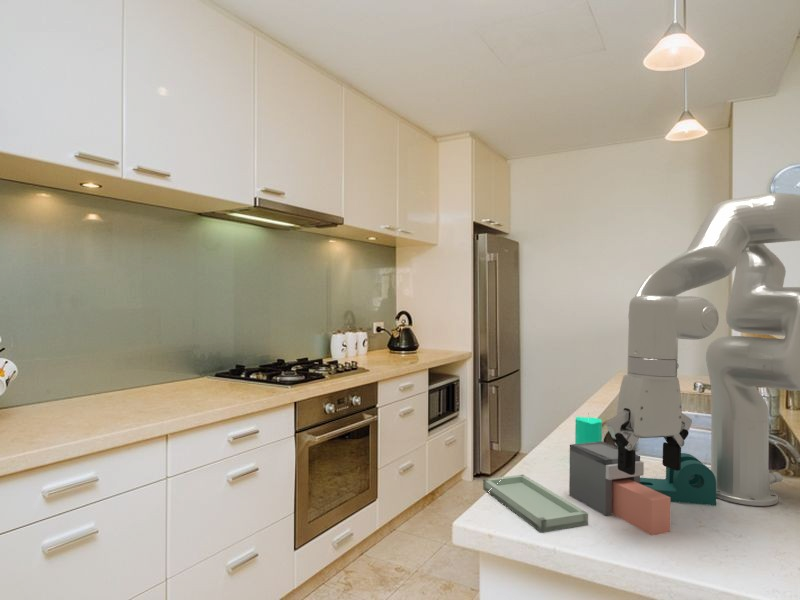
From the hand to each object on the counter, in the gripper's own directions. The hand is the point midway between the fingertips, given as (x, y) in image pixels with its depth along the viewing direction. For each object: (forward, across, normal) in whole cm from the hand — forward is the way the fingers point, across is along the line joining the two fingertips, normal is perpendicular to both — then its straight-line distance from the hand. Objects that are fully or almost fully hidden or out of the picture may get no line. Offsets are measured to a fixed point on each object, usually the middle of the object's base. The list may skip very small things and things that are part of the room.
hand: (649, 470), depth 84 cm
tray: (+10, +13, -15) cm, 22 cm away
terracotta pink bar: (+10, -1, -6) cm, 12 cm away
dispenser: (+10, -1, -12) cm, 15 cm away
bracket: (+10, -15, -12) cm, 21 cm away
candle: (+10, -14, -32) cm, 36 cm away
